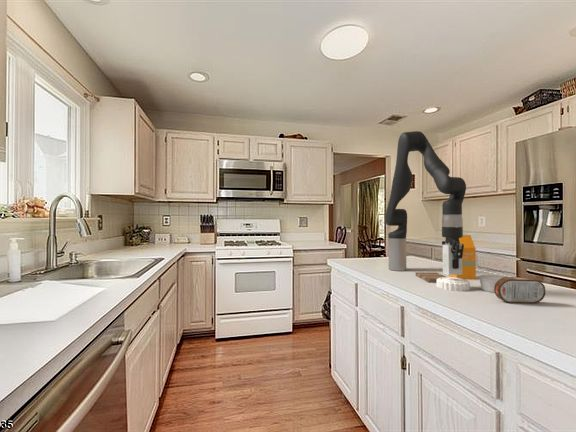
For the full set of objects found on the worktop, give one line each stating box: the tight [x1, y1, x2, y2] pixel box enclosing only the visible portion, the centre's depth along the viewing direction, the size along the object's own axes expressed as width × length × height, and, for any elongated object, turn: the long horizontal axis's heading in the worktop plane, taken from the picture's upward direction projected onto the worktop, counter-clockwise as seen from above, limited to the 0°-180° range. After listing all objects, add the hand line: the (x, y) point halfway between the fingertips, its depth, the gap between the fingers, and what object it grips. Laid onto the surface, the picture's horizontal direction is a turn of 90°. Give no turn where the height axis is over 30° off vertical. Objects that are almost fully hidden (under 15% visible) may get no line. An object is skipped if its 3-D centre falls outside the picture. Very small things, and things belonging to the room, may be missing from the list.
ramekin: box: [478, 274, 506, 294], centre depth 117 cm, size 11×11×5 cm
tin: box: [494, 276, 547, 304], centre depth 101 cm, size 15×3×8 cm, turn 84°
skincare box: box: [442, 245, 462, 276], centre depth 123 cm, size 6×4×12 cm
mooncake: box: [436, 276, 471, 292], centre depth 123 cm, size 12×12×4 cm
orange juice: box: [448, 234, 477, 280], centre depth 143 cm, size 8×9×20 cm
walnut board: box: [415, 271, 447, 284], centre depth 140 cm, size 16×10×2 cm, turn 176°
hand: (452, 267), depth 123 cm, fingers closed on skincare box, 4 cm apart
